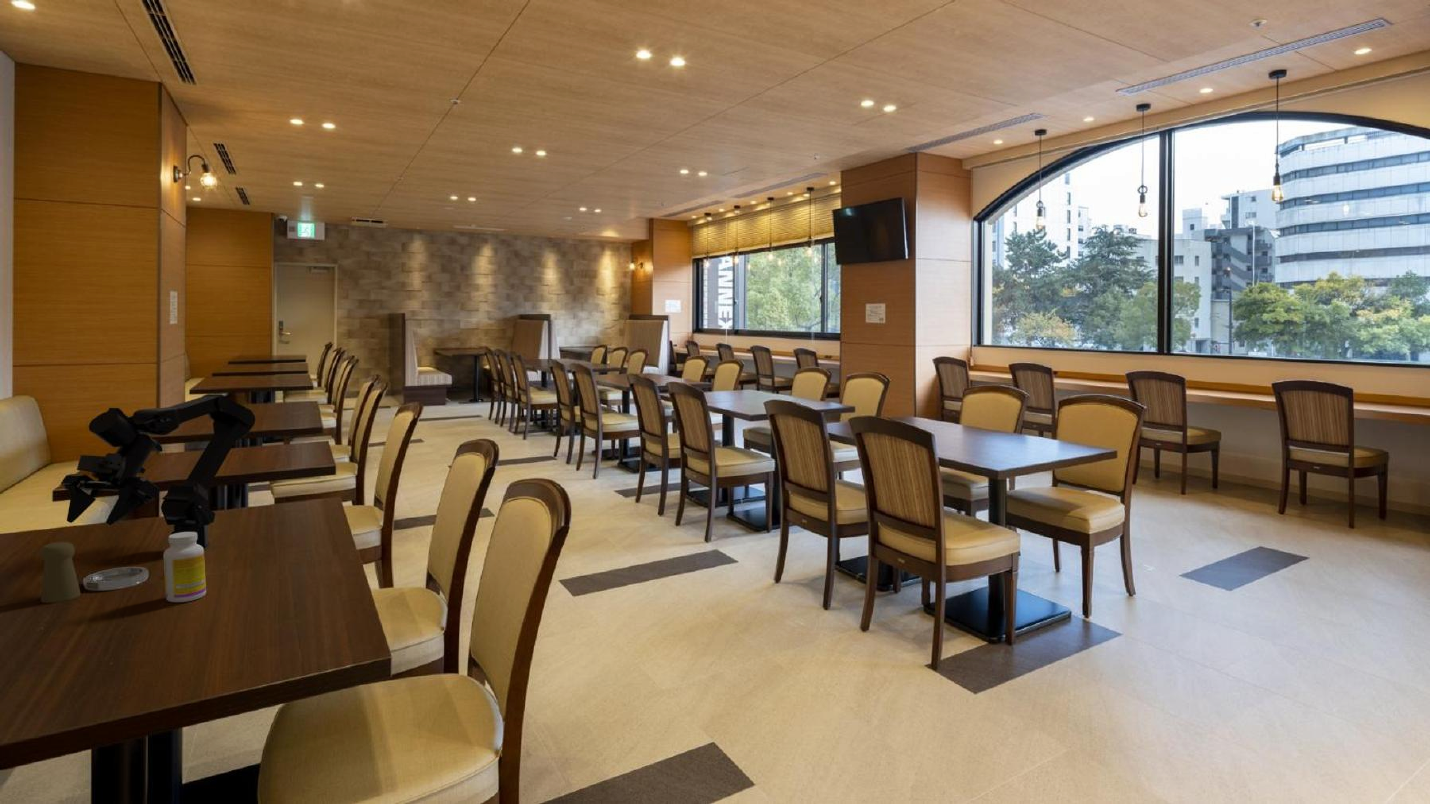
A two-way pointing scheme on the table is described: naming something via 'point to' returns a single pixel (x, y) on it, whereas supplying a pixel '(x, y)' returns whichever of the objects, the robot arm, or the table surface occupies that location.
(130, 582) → the ring seat
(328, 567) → the table surface
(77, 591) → the cork
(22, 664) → the table surface
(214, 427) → the robot arm
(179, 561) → the supplement bottle
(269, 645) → the table surface
